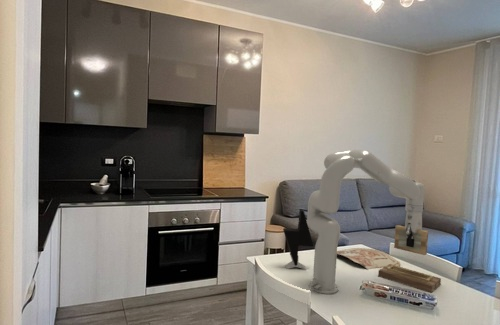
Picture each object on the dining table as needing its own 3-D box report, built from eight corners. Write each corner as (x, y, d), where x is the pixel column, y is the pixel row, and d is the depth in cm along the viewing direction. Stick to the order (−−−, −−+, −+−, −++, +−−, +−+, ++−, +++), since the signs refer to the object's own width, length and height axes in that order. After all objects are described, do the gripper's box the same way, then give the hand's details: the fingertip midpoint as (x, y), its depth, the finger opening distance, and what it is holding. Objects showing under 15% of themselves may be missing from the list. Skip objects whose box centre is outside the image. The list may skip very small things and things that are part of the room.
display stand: (431, 292, 148) (431, 284, 148) (378, 276, 165) (378, 268, 164) (440, 284, 158) (441, 276, 158) (389, 269, 174) (390, 262, 174)
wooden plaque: (424, 255, 155) (426, 232, 154) (394, 247, 164) (395, 225, 164) (426, 253, 157) (428, 230, 157) (396, 246, 167) (398, 224, 166)
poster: (359, 277, 171) (404, 270, 182) (360, 265, 170) (405, 259, 181) (328, 255, 197) (368, 250, 208) (328, 245, 196) (369, 241, 207)
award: (309, 266, 174) (313, 209, 173) (312, 269, 169) (315, 211, 167) (281, 265, 174) (284, 208, 172) (282, 268, 168) (285, 210, 167)
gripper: (416, 211, 151) (413, 251, 152) (428, 207, 163) (425, 244, 164) (399, 208, 156) (396, 247, 157) (411, 205, 168) (409, 241, 169)
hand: (411, 245), depth 160 cm, fingers closed on wooden plaque, 3 cm apart
